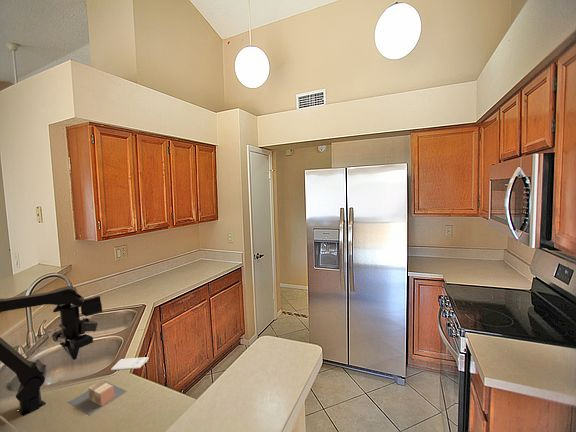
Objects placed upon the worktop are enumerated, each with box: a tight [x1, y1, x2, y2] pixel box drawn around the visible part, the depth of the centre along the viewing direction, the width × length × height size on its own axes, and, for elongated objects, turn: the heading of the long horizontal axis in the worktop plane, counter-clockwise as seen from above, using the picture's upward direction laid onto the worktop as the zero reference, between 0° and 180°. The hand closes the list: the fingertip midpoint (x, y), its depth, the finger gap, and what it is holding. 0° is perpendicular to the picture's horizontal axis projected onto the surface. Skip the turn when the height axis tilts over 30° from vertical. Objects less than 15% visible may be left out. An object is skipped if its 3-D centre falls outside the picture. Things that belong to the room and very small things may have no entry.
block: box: [88, 380, 115, 406], centre depth 103 cm, size 4×4×8 cm
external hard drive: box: [110, 356, 149, 371], centre depth 125 cm, size 2×8×12 cm
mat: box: [67, 380, 128, 416], centre depth 104 cm, size 15×13×1 cm
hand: (74, 359), depth 108 cm, fingers closed
